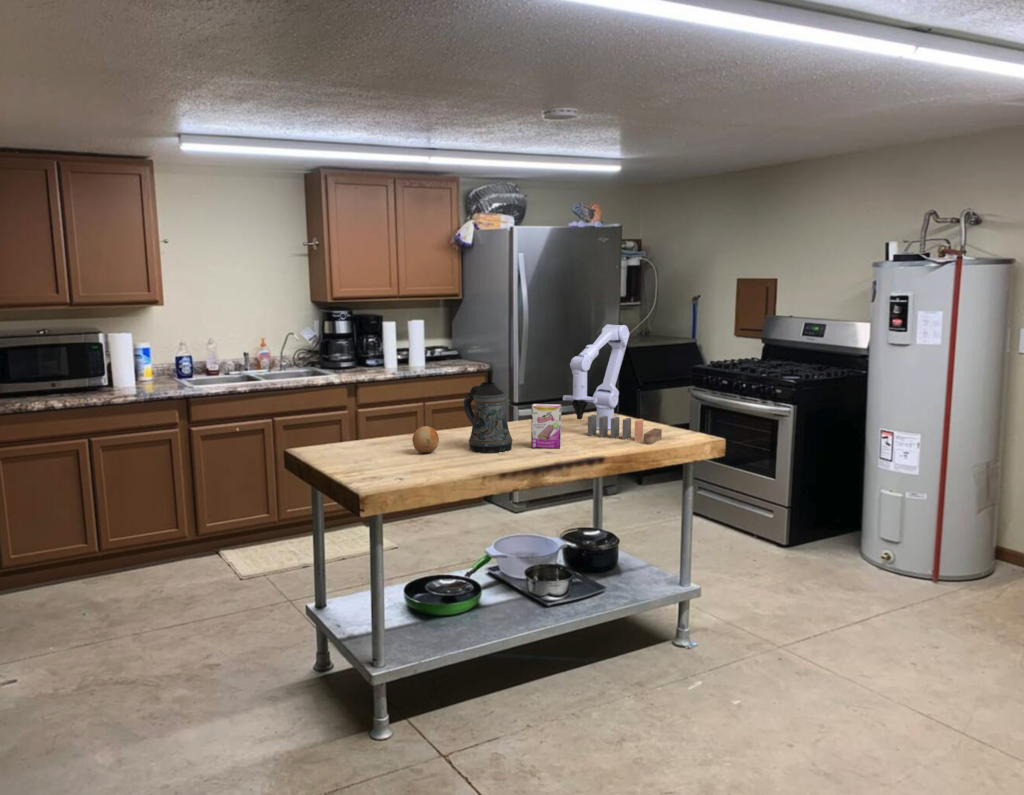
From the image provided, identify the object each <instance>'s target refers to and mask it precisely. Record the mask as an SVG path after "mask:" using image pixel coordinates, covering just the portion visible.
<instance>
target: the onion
mask: <svg viewBox="0 0 1024 795" xmlns="http://www.w3.org/2000/svg"><path fill="white" fill-rule="evenodd" d="M412 435H413V436H412V444H413V448H414V449H415V450H416V451H417V452H418V453H421V454H428V453H432V452H434V451H435V450H436V449H437V448H438V447H439V443H440V438H439V434H438V432H437V431H436V429H435V428H433V427H432V426H429V425H428V426H427V425H426V426H425V425H424V426H419V427H418V428H417V429H416V430H415V431H414V433H413V434H412Z"/></svg>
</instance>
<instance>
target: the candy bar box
mask: <svg viewBox="0 0 1024 795" xmlns="http://www.w3.org/2000/svg"><path fill="white" fill-rule="evenodd" d="M530 426H531V433H530V434H531V436H530V438H531V439H530V441H531V443H530V444H531V445H530V446H531V448H530V449H551V448H557V449H559V450H560V449H561V447H562V404H555V403H554V404H552V403H551V404H550V403H549V404H547V403H533V404H532V405H531V425H530Z"/></svg>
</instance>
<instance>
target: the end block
mask: <svg viewBox="0 0 1024 795" xmlns="http://www.w3.org/2000/svg"><path fill="white" fill-rule="evenodd" d="M662 431H663V430H662V428H658V427H657V428H655V427H654V428H652V429H650V430H649V431H647V432H643V444H644V443H645V444H644V445H649V444H651V445H653V444H655V443H656V441H657V440H658V441H660V440H662ZM659 439H660V440H659ZM658 441H657V442H658ZM654 442H655V443H654ZM652 443H653V444H652Z"/></svg>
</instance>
